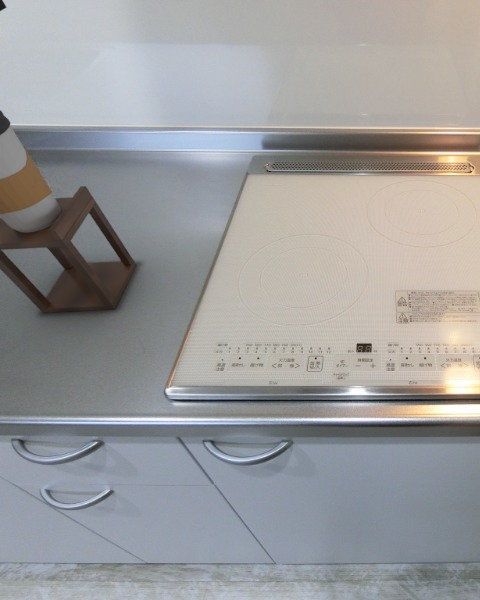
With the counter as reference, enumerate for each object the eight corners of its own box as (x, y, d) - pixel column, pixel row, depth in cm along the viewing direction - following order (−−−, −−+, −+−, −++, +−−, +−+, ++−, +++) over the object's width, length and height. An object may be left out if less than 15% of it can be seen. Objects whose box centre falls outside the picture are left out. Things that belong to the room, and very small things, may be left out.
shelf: (43, 313, 68) (-34, 234, 56) (70, 268, 74) (7, 189, 62) (115, 309, 68) (54, 230, 56) (136, 264, 75) (86, 185, 63)
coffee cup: (-6, 220, 60) (-99, 114, 49) (58, 194, 64) (-15, 90, 53) (14, 247, 57) (-82, 139, 45) (80, 218, 61) (7, 112, 49)
